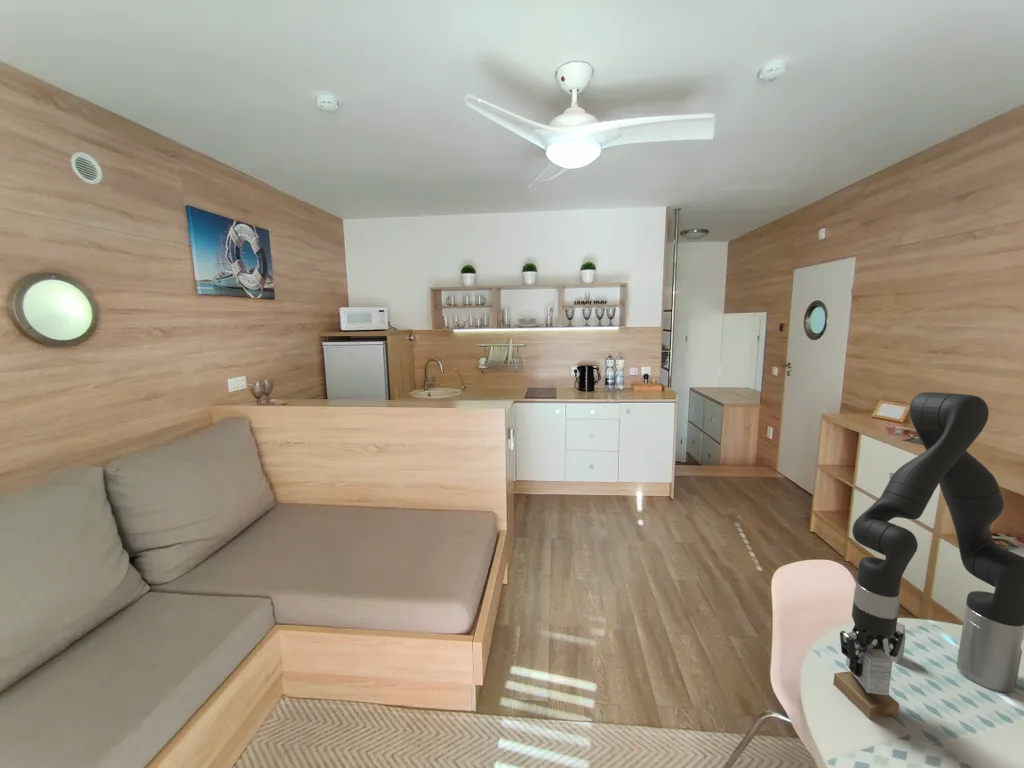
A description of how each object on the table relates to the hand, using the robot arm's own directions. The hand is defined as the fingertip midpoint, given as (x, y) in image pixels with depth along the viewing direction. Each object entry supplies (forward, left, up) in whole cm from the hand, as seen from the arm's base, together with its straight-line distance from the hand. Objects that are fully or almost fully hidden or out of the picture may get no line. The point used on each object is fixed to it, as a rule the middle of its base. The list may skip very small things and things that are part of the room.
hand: (867, 672), depth 94 cm
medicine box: (0, 0, -2) cm, 2 cm away
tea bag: (-18, -12, -7) cm, 23 cm away
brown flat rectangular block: (0, 0, -7) cm, 7 cm away
